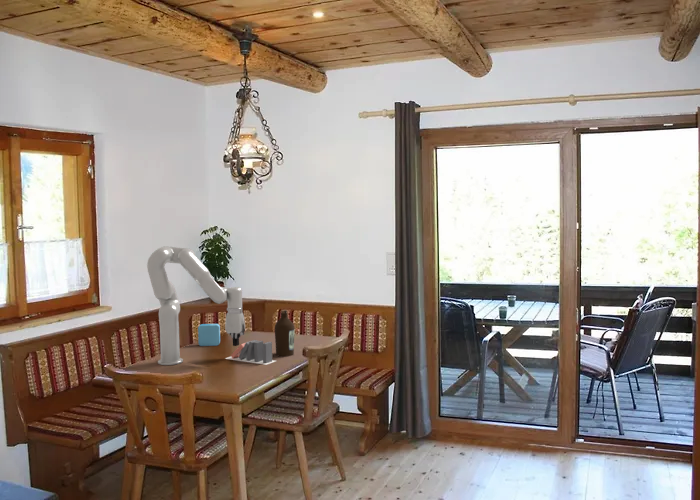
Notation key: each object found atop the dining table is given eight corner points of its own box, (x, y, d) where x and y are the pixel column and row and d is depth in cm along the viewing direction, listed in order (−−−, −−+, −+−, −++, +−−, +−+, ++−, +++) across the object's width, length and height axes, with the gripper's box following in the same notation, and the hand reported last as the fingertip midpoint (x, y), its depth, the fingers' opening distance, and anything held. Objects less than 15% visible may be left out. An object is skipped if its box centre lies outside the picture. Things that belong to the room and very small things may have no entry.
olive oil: (272, 358, 344) (271, 311, 342) (279, 353, 355) (278, 308, 353) (291, 359, 342) (290, 312, 340) (297, 354, 352) (296, 309, 350)
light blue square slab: (220, 343, 380) (219, 323, 379) (219, 345, 376) (219, 325, 375) (199, 344, 379) (198, 324, 378) (198, 346, 375) (197, 325, 374)
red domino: (230, 355, 340) (241, 344, 336) (236, 353, 345) (247, 342, 341) (232, 358, 340) (243, 347, 336) (238, 356, 344) (249, 345, 340)
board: (224, 360, 340) (224, 358, 340) (235, 357, 348) (235, 354, 348) (266, 367, 327) (266, 364, 327) (276, 363, 335) (276, 360, 334)
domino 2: (246, 359, 335) (249, 341, 334) (252, 357, 340) (255, 339, 338) (249, 360, 335) (252, 342, 333) (255, 358, 339) (258, 340, 337)
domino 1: (238, 357, 338) (246, 342, 335) (244, 355, 342) (252, 340, 339) (240, 359, 337) (248, 344, 334) (247, 357, 342) (254, 342, 338)
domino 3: (254, 361, 333) (254, 342, 332) (260, 359, 337) (260, 340, 336) (257, 362, 332) (257, 342, 331) (263, 360, 336) (263, 340, 335)
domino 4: (263, 362, 330) (262, 343, 329) (269, 360, 334) (268, 341, 334) (266, 363, 329) (265, 344, 328) (272, 361, 333) (271, 342, 333)
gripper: (219, 311, 340) (220, 345, 342) (241, 313, 333) (242, 348, 335) (228, 308, 347) (229, 342, 348) (250, 310, 340) (251, 345, 341)
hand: (235, 345), depth 341 cm, fingers closed
